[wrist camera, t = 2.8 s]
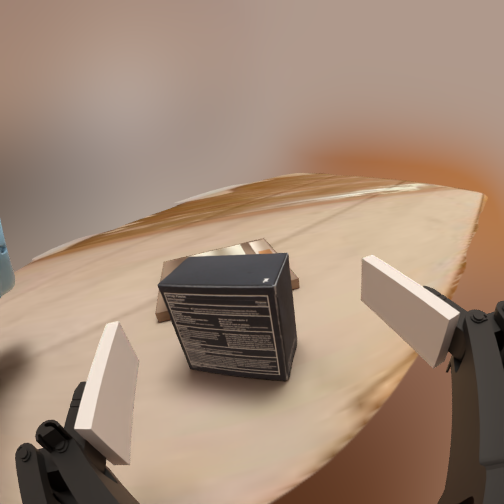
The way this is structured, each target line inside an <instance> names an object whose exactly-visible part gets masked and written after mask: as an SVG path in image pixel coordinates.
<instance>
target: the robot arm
mask: <svg viewBox="0 0 504 504" xmlns="http://www.w3.org/2000/svg"><path fill="white" fill-rule="evenodd" d="M14 285H15V275H14V272H13V269H12V265H11V262H10V258H9V255H8V251H7V247H6V243H5V239H4V234H3V230H2V225H1V220H0V298H1V296H3V295H4V294H6V293H7V292H9V291H10V290H11V289H12V288H13V287H14ZM361 301H362V302H364V303H365V304H366V305H367V306H368V307H369V308H370V309H371V310H372V311H373V312H374V313H376V314H377V315H378V316H379V317H380V318H381V319H382V320H383V321H384V322H385V323H386V324H387V325H389V326H390V327H391V328H392V329H393V330H394V331H395V332H396V333H397V334H398V335H399V336H400V337H401V338H402V339H403V340H404V341H405V342H407V343H408V344H409V345H410V346H411V347H412V348H413V349H414V350H415V351H416V352H417V353H418V354H419V355H420V356H421V357H422V358H423V359H424V360H425V361H426V362H427V363H428V364H429V365H430V366H431V367H433V368H435V367H437V366H438V365H439V364H441V363H442V362H444V361H445V358H446V355H447V353H448V352H450V353H451V354H452V357H451V359H450V362H449V364H448V367H447V369H446V372H448V371H449V369H450V367H451V374H452V434H451V448H450V457H449V466H448V473H447V480H446V485H445V490H444V493H443V495H442V496H441V498H440V500H439V502H438V504H504V301H500V302H498V304H497V306H496V309H495V312H492V313H489V314H486V313H484V312H483V311H480V310H470V311H468V312H467V311H466V310H464V309H463V308H461V307H460V306H458V305H457V304H455V303H454V302H452V301H451V300H450V299H447V297H445V296H444V295H441V293H439V292H438V291H436V290H435V289H433V288H430V287H427V286H423V287H422V286H421V285H419V284H418V283H416V282H415V281H413V280H412V279H410V278H409V277H407V276H406V275H404V274H403V273H401V272H399V271H398V270H396V269H395V268H393V267H392V266H390V265H388V264H387V263H385V262H384V261H382V260H380V259H379V258H377V257H376V256H374V255H370V256H367V257H364V258H362V283H361ZM138 367H139V359H138V357H137V355H136V354H135V352H134V350H133V348H132V346H131V344H130V342H129V340H128V338H127V336H126V334H125V332H124V330H123V328H122V326H121V324H120V322H119V321H117V322H112V323H107V324H106V326H105V329H104V331H103V334H102V337H101V340H100V342H99V345H98V348H97V351H96V354H95V357H94V360H93V363H92V366H91V369H90V372H89V375H88V379H87V382H80V384H79V385H78V387H77V388H76V389H75V391H74V394H73V398H72V401H71V404H70V408H69V411H68V415H67V418H66V422H65V426H64V428H63V427H62V426H61V425H60V424H59V423H58V422H57V421H55V420H47V421H45V422H43V423H42V424H41V425H40V426H39V427H38V429H37V431H36V436H35V437H36V441H37V442H38V443H39V444H40V445H41V446H42V447H43V448H42V449H36V448H35V447H34V446H33V445H32V444H30V443H24V444H22V445H20V446H19V448H18V449H17V451H16V454H15V461H16V469H17V476H18V482H19V488H20V493H21V498H22V503H23V504H140V503H139V502H138V501H137V500H136V499H135V498H134V497H133V496H132V495H131V494H130V493H129V492H128V491H127V489H126V488H125V487H124V486H123V485H122V484H121V482H120V481H119V480H118V479H117V478H116V477H115V475H114V474H113V473H112V472H111V470H110V469H109V468H108V467H107V466H106V459H107V460H108V461H110V462H111V463H112V464H113V465H130V449H131V433H132V420H133V409H134V399H135V390H136V382H137V374H138Z"/></svg>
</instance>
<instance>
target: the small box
mask: <svg viewBox="0 0 504 504" xmlns="http://www.w3.org/2000/svg"><path fill="white" fill-rule="evenodd" d="M158 288H159V291H160V293H161V295H162V297H163V300H164V303H165V305H166V308H167V310H168V313H169V315H170V318H171V321H172V324H173V326H174V329H175V332H176V334H177V337H178V339H179V342H180V344H181V347H182V349H183V352H184V354H185V357H186V359H187V362H188V364H189V367H190V369H193V370H198V371H204V372H211V373H217V374H224V375H232V376H240V377H248V378H258V379H270V380H283V381H286V380H288V379H289V377H290V369H291V365H292V362H293V357H294V353H295V350H296V346H297V335H296V324H295V313H294V304H293V295H292V285H291V275H290V267H289V255H288V253H271V254H246V255H220V256H194V257H188V258H187V259H185V260H184V261H183V262H182V263H181V264H180V265H179V266H178V267H177V268H175V269H174V270H173V271H172V272H171V273H170V274H169V275H168V276H167V277H165V278H164V279H163V280H162V281H161V282H160V283H159V284H158Z"/></svg>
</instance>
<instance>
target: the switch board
mask: <svg viewBox="0 0 504 504" xmlns="http://www.w3.org/2000/svg"><path fill="white" fill-rule="evenodd" d="M271 253H276V251H275V250H274V249H273V248H272V247H271V246H270V244H269V243H268V242H267V241H266V240H265V239H264V238H263V239H259V240H255V241H250V242H246V243H242V244H237V245H233V246H229V247H224V248H220V249H216V250H212V251H207V252H203V253H199V254H195V255H191V256H186V257H182V258H178V259H174V260H170V261H166V262H164V263H163V269H162V274H161V280H160V282H161V281H162V280H163V279H164V278H165V277H167V276H168V275H169V274H170V273H171V272H172V271H173V270H174V269H175V268H177V267H178V266H179V265H180V264H181V263H182V262H183V261H184V260H185V259H187V258H188V257H194V256H220V255H246V254H271ZM290 275H291V285H292V289H296V288H299V278H298V277H297V276H296V275H295V273H294V272H293V271H292V270H291V269H290ZM155 314H156V316H157V318H158V321H159V322H163V321H167V320H171V318H170V315H169V313H168V310H167V308H166V305H165V303H164V300H163V297H162V295H161V293H160V291H159V293H158V299H157V306H156V313H155Z"/></svg>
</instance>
